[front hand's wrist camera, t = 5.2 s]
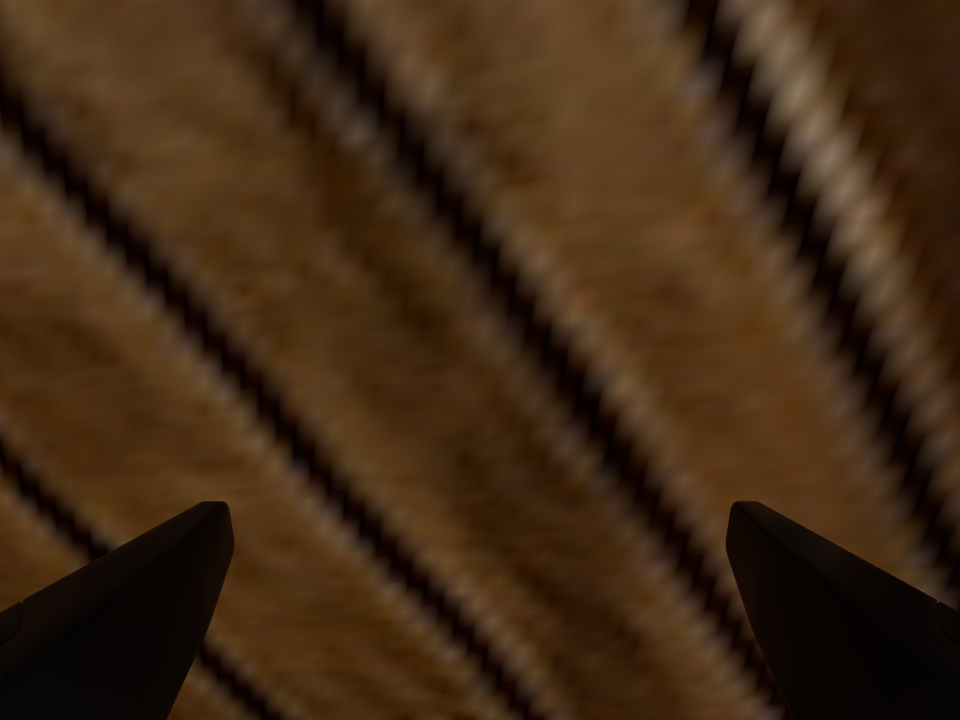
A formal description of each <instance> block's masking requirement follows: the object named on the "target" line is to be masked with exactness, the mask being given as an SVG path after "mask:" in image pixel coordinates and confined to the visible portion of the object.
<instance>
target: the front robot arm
mask: <svg viewBox="0 0 960 720" xmlns="http://www.w3.org/2000/svg"><path fill="white" fill-rule="evenodd" d="M233 551H234V536H233V530H232V523H231V517H230V511H229V507H228V505H227V504H226V503H225V502H223V501H204V502H201V503H199V504H197V505H195V506H193V507H191V508H190V509H188V510H186V511H184V512H182V513H181V514H179V515H177V516H175V517H173V518H171V519H170V520H168V521H166V522H164V523H162V524H161V525H159V526H157V527H155V528H153V529H151V530H150V531H148V532H146V533H144V534H142V535H140V536H139V537H137V538H135V539H133V540H131V541H130V542H128V543H126V544H124V545H122V546H120V547H119V548H117V549H115V550H113V551H111V552H110V553H108V554H106V555H104V556H102V557H100V558H99V559H97V560H95V561H93V562H91V563H89V564H88V565H86V566H84V567H82V568H80V569H79V570H77V571H75V572H73V573H71V574H69V575H68V576H66V577H64V578H62V579H60V580H59V581H57V582H55V583H53V584H51V585H49V586H48V587H46V588H44V589H42V590H40V591H38V592H37V593H35V594H33V595H31V596H29V597H28V598H26V599H24V600H23V603H22V602H18V603H16V604H15V605H13V606H11V607H9V608H7V609H6V610H4V611H2V612H0V720H166V719H167V717H168V715H169V713H170V711H171V708H172V706H173V704H174V702H175V700H176V698H177V695H178V693H179V691H180V689H181V687H182V685H183V683H184V680H185V678H186V676H187V674H188V672H189V670H190V667H191V665H192V663H193V661H194V659H195V657H196V654H197V652H198V650H199V648H200V646H201V644H202V641H203V639H204V637H205V634H206V632H207V630H208V627H209V624H210V622H211V619H212V616H213V613H214V610H215V607H216V604H217V601H218V598H219V595H220V592H221V589H222V586H223V583H224V580H225V577H226V574H227V571H228V568H229V565H230V562H231V559H232V555H233ZM726 551H727V555H728V559H729V562H730V565H731V568H732V571H733V574H734V577H735V580H736V583H737V586H738V589H739V592H740V595H741V598H742V601H743V604H744V607H745V610H746V613H747V616H748V619H749V622H750V624H751V627H752V630H753V632H754V634H755V637H756V639H757V641H758V644H759V646H760V648H761V650H762V652H763V654H764V657H765V659H766V661H767V663H768V665H769V667H770V670H771V672H772V674H773V676H774V678H775V680H776V683H777V685H778V687H779V689H780V691H781V693H782V695H783V698H784V700H785V702H786V704H787V706H788V708H789V711H790V713H791V715H792V717H793V719H794V720H960V612H958V611H956V610H954V609H953V608H951V607H949V606H947V605H945V604H944V603H942V602H938V603H937V600H936V599H934V598H932V597H931V596H929V595H927V594H925V593H923V592H922V591H920V590H918V589H916V588H914V587H912V586H911V585H909V584H907V583H905V582H903V581H901V580H900V579H898V578H896V577H894V576H892V575H891V574H889V573H887V572H885V571H883V570H881V569H880V568H878V567H876V566H874V565H872V564H871V563H869V562H867V561H865V560H863V559H861V558H860V557H858V556H856V555H854V554H852V553H850V552H849V551H847V550H845V549H843V548H841V547H840V546H838V545H836V544H834V543H832V542H830V541H829V540H827V539H825V538H823V537H821V536H820V535H818V534H816V533H814V532H812V531H810V530H809V529H807V528H805V527H803V526H801V525H799V524H798V523H796V522H794V521H792V520H790V519H789V518H787V517H785V516H783V515H781V514H779V513H778V512H776V511H774V510H772V509H770V508H769V507H767V506H765V505H763V504H761V503H759V502H756V501H737V502H735V503H734V504H733V505H732V507H731V511H730V517H729V523H728V530H727V536H726Z"/></svg>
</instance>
